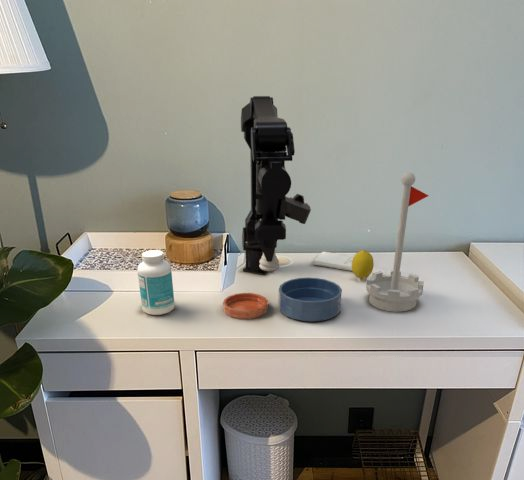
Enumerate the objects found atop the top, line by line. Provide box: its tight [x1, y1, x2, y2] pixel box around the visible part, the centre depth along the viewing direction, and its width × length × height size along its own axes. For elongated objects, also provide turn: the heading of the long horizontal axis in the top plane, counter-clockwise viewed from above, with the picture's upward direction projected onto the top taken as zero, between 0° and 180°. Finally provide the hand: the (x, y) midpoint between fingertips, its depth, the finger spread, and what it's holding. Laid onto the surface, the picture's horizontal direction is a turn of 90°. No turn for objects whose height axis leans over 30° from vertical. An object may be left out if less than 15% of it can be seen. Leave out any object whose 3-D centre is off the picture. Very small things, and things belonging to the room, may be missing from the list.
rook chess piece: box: [259, 250, 280, 272], centre depth 121 cm, size 4×4×8 cm
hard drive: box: [312, 251, 355, 272], centre depth 154 cm, size 2×8×12 cm
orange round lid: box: [222, 292, 269, 320], centre depth 128 cm, size 10×10×2 cm
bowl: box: [277, 277, 343, 322], centre depth 127 cm, size 14×14×5 cm
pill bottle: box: [136, 249, 175, 316], centre depth 125 cm, size 8×7×14 cm
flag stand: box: [365, 171, 430, 313], centre depth 125 cm, size 13×13×30 cm
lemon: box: [351, 249, 375, 281], centre depth 143 cm, size 6×6×8 cm
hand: (269, 258), depth 122 cm, fingers closed on rook chess piece, 3 cm apart
